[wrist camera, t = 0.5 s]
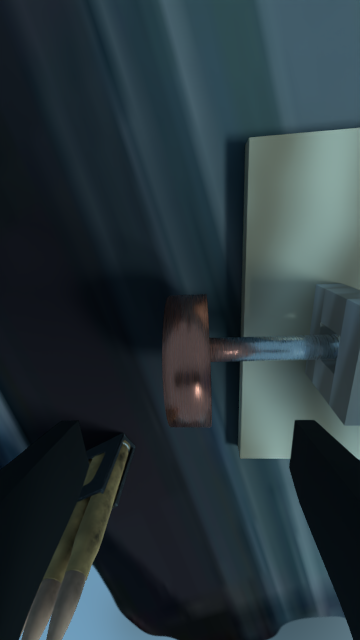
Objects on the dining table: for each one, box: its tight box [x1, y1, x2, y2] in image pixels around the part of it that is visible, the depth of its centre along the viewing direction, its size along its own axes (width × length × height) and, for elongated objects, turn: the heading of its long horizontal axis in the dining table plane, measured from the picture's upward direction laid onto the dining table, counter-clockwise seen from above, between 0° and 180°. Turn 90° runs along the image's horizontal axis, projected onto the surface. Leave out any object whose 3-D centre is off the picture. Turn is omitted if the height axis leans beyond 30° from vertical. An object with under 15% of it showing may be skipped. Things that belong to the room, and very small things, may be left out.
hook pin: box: [162, 294, 340, 427], centre depth 14 cm, size 12×7×7 cm, turn 93°
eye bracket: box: [238, 128, 360, 459], centre depth 15 cm, size 12×22×6 cm, turn 3°
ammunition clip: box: [20, 433, 136, 640], centre depth 18 cm, size 11×2×12 cm, turn 123°
